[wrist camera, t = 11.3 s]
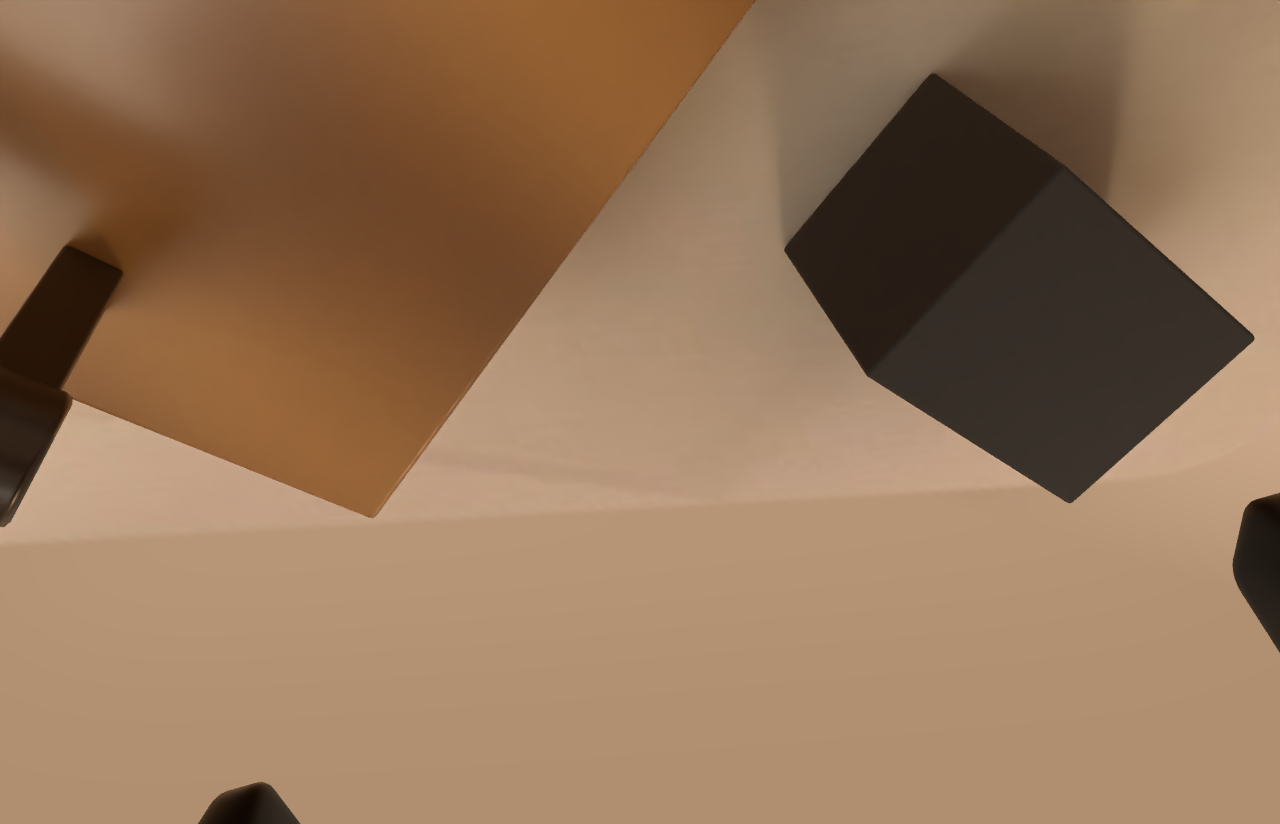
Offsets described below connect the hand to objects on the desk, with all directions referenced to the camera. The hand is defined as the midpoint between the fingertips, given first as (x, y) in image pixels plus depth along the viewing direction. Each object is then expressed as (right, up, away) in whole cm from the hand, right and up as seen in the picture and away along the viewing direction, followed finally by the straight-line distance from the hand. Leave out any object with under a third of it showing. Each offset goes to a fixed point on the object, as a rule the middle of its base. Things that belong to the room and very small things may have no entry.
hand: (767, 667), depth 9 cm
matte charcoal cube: (+6, +6, +13) cm, 15 cm away
